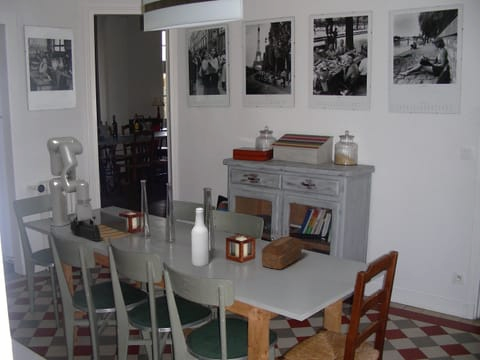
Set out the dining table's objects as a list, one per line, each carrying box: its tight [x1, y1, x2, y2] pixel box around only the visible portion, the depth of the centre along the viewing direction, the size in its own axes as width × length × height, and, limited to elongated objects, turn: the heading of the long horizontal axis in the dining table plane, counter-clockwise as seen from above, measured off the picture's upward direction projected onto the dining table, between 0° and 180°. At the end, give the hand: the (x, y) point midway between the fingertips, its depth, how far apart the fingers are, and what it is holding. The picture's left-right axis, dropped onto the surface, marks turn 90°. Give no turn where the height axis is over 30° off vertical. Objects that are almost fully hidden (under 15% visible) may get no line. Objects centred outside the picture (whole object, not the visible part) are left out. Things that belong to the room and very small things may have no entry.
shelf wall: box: [99, 210, 128, 233], centre depth 350 cm, size 30×1×9 cm, turn 45°
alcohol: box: [190, 207, 210, 267], centre depth 286 cm, size 9×9×30 cm
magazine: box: [69, 218, 102, 242], centre depth 336 cm, size 17×3×30 cm
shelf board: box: [95, 222, 131, 242], centre depth 346 cm, size 34×18×2 cm, turn 45°
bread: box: [261, 236, 303, 270], centre depth 290 cm, size 14×28×12 cm, turn 148°
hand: (84, 228), depth 336 cm, fingers open, 9 cm apart
